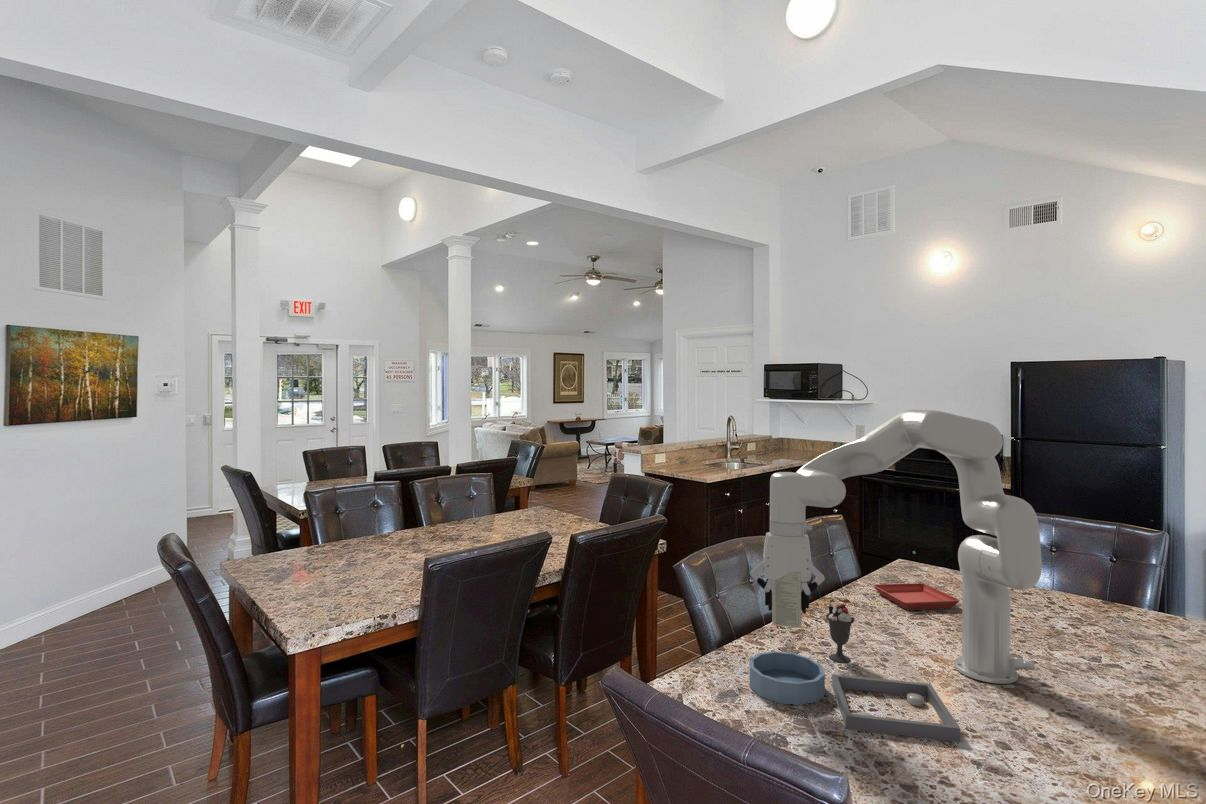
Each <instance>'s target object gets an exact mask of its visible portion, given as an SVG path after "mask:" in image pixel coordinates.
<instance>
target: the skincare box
mask: <svg viewBox="0 0 1206 804" xmlns="http://www.w3.org/2000/svg"><path fill="white" fill-rule="evenodd" d="M771 590H772V610H771V613H772V614H771V622H772V626H780V627H789V628H799V629H801V628H802V610H801V592H802V585H801V573H794V572H789V573H788V574H786V575H784V576H783V577H781V578H779V579H777V580H772V587H771Z"/></svg>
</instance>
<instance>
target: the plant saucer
mask: <svg viewBox="0 0 1206 804" xmlns="http://www.w3.org/2000/svg"><path fill="white" fill-rule="evenodd" d="M873 588H874V589H875V590H876V592H877V593H878V594H879V595H880V594H881V596H882V597H883V596H884V597H883V598H885V597H886V598H885V599H887V600H889V601H891V602H892V601H893V602H892V603H894V604H896V605H898V606H899V605H900V606H899V607H901V608H903V609H905V610H907V609H909V610H908V611H911V610H910V609H920V610H940V609H941V608H948V609H951V608H953V607H954V606H956V605H957V604H958V603H959V602H960V601H961V600H960V599H958V598H957V597H954V596H952V595H950V594H947V593H945V592H943V591H941V590H940V589H937V588H935V587H932V586H931V585H929V584H926V583H925V582H924V583H923V582H922V583H921V582H920V583H918V582H916V583H911V582H910V583H887V584H873ZM941 610H942V609H941Z"/></svg>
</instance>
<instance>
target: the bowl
mask: <svg viewBox="0 0 1206 804" xmlns="http://www.w3.org/2000/svg"><path fill="white" fill-rule="evenodd" d="M749 688H750V689H751V690H753V692H754V693H756V694H757V695H758V696H759V697H760V698H764V699H766V700H769V701H771V702H774V703H777V704H781V705H782V704H783V705H790V704H794V705H793V706H803V705H802V704H805V705H807V704H806V703H811V704H814V703H813V702H817V701H818V702H819V701H821V699H822V698H824V697H825V693H826V690H825V688H826V674H825V671H824V668H823V665H822V664H820V663H818V662H817V661H816V660H814V659H813V658H811V657H807V656H804V655H802V654H798V653H795V652H788V651H777V650H773V651H765V652H759V653H756V654H755V655H753V656H752V657H750V658H749ZM818 702H817V703H818Z"/></svg>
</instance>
